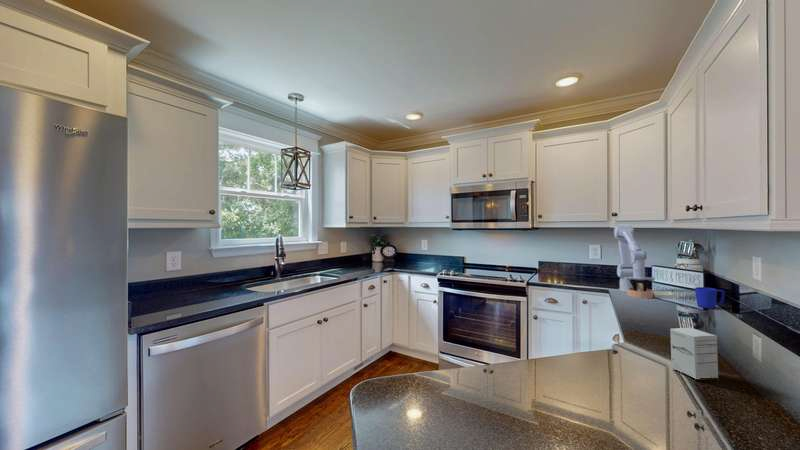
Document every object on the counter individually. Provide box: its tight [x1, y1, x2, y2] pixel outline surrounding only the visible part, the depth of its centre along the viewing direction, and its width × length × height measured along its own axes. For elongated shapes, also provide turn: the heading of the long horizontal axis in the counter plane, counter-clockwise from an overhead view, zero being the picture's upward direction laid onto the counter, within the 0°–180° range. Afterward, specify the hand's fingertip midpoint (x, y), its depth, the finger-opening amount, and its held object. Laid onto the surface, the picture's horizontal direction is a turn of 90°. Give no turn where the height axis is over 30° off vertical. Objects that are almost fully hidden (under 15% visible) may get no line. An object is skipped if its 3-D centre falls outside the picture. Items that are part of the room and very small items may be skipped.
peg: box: [636, 282, 644, 291], centre depth 188 cm, size 4×4×8 cm
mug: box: [694, 286, 725, 310], centre depth 160 cm, size 8×12×10 cm
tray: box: [653, 290, 681, 300], centre depth 187 cm, size 12×12×2 cm
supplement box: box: [669, 327, 719, 379], centre depth 89 cm, size 7×7×13 cm
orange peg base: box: [626, 288, 654, 299], centre depth 188 cm, size 13×13×5 cm
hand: (639, 292), depth 188 cm, fingers closed on peg, 4 cm apart
